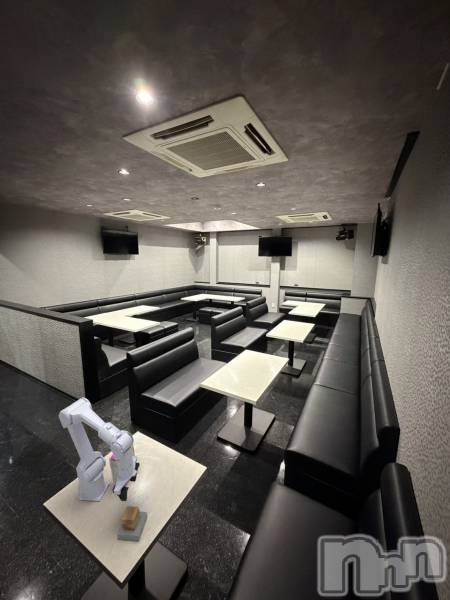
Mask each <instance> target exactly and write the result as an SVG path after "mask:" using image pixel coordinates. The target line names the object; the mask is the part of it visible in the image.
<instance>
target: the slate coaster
mask: <svg viewBox="0 0 450 600" xmlns="http://www.w3.org/2000/svg"><path fill="white" fill-rule="evenodd" d="M139 514H140V518H139V520H138V523H137V526H136V529H135V530H124V529H123V525H122V524H121V525H120V527H119V529H118V532H117V534H116V535H117V539H118V540H121V541H122V540H123V541H134V542H139V541H140V539H141V536H142V534H143V531H144V528H145V525H146V522H147V519H148V512H147V511H141V510H139Z"/></svg>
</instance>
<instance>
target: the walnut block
mask: <svg viewBox="0 0 450 600" xmlns="http://www.w3.org/2000/svg"><path fill="white" fill-rule="evenodd" d="M125 508H126V509H125V511H124V513H123V516H122V518H121V525H123V529H124V530H135V529H136V526H137V523H138V520H139V518H140V514H139V511H140V509H139V506H129V505H128V506H126V507H125Z"/></svg>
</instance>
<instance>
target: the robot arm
mask: <svg viewBox="0 0 450 600" xmlns="http://www.w3.org/2000/svg"><path fill="white" fill-rule="evenodd" d="M92 407H93V406H92V403H91V402H90V400H89V399H87V398H86V397H81V398H79V399H78V400H76V401H75V402H72V404H70V405H69V406H66V407H65V408H64V409H62V410H60V411H59V414H58V419H59V421H60V423H61V426H62V428H63V429H67V431H68V433H69V434H70V438H71V440H72V442H73V443H74V447H75V449H76V450H77V451H76V452H77V454H78V456H79V458H80V460H79V462H78V464H77V465H76V468H75V471H76V474H77V479H78V483H77V487H78V492H79V498H78V500H79V501H90V502H91V501H92V502H99V501H101V499H102V498H103V495H104V494H105V492H106V490H107V489H108V487H109V486H110V481H105V478H104V471H105V469H104V468H105V467H106V465H107V460H106V459H105V457H104V456H103V454H102V452H100V451H96V450H95V451H94V449H93V447H92V445H91V442H90V439H89V437H88V435H87V432H86V430H85V427H84V425H83V423H84V424H86V425H87V426H89V427H90V428H92V429H93V430H95V431H96V432H97V437H99V439H101V440H102V441H103V442H105V443H106V444H107V445H108V446H109V448H110V450H111V453H112V455H113V454H114V457H115V459H116V463H117V470H118V476H117V481H116V485H115V486H114V485H113V488H112V493H113V494H114V495H115V496H117V497H118V498H119V500H120V501H121V502H127V500H128V491H129V489H130V488H129V486H124V485H125V484H126V483H127V482H128V483H129V482H133V483H135V482H136V481H137V474H138V470H139V467H140V462H137V461H138V456H137V455H135V456H132V451H131V445H132V443H133V444H134V440H135V439H134V437H133V435H132V434H131V433H130V432H129V431H127V430H123V429H121V430H120V428H118V427H116V426H115V425H114V424H113V423H112V422H109V421H108V422H105V421H104V420H103V419H102V418H101V417H100V416H99V415H98V414H97V413H96V412H95V411H94V410H93V408H92ZM129 479H130V480H129ZM128 483H127V484H128Z"/></svg>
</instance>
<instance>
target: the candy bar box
mask: <svg viewBox="0 0 450 600" xmlns="http://www.w3.org/2000/svg"><path fill="white" fill-rule="evenodd" d="M131 451H132V456H136V455H135V449H134V442H133V443H132V445H131ZM108 460H109V466H110V472H111V477H112V481H113V487H114V486H115V485H116V481H117V476H118V470H117V463H116V459H115V457H114V454H113V453H112V454H111V456H110V457H109V459H108ZM129 481H130V479H129ZM129 481H128V482H127V483H126V484H125V485H124V486H125V487H127V484H128V483H129Z"/></svg>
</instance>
